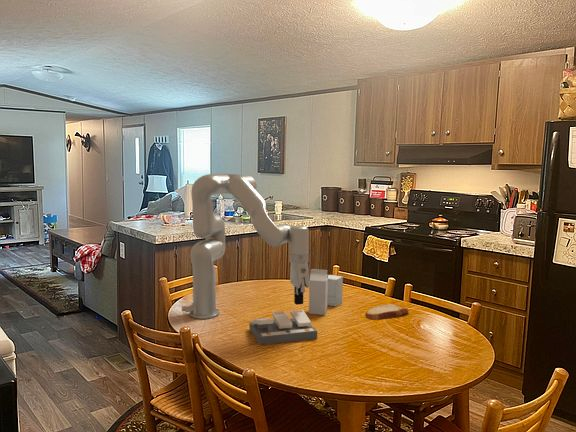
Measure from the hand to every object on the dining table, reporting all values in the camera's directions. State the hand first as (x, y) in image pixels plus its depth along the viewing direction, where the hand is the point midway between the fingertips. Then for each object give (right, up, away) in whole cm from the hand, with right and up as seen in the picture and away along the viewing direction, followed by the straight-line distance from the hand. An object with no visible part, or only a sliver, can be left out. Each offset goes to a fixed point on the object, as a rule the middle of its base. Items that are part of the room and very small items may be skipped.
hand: (298, 303), depth 191 cm
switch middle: (-7, -5, -5) cm, 10 cm away
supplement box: (+16, -6, +35) cm, 39 cm away
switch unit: (-6, -11, -5) cm, 13 cm away
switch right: (+1, -5, -3) cm, 6 cm away
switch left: (-14, -5, -7) cm, 16 cm away
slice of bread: (+39, -9, +21) cm, 45 cm away
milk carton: (+9, -8, +22) cm, 25 cm away
